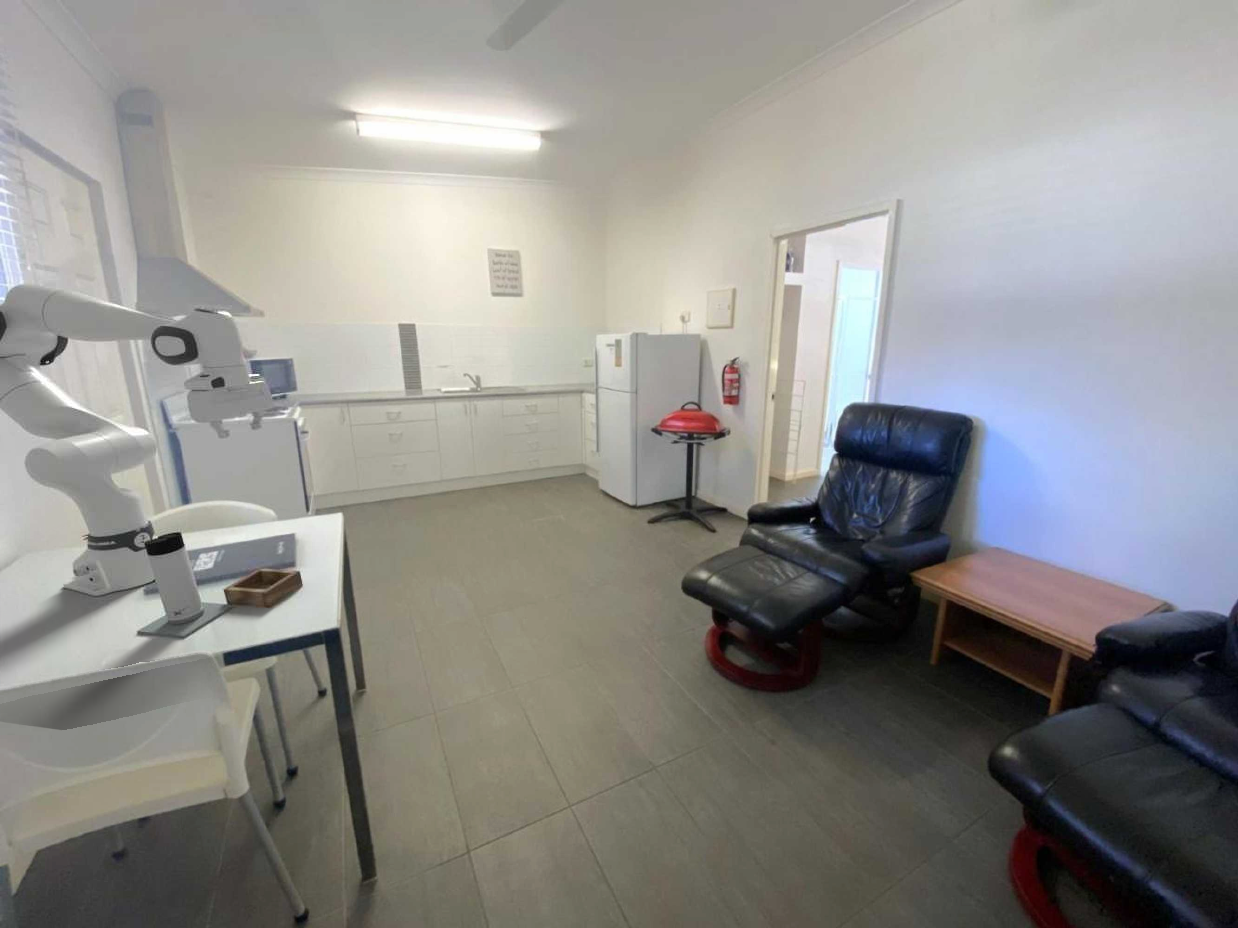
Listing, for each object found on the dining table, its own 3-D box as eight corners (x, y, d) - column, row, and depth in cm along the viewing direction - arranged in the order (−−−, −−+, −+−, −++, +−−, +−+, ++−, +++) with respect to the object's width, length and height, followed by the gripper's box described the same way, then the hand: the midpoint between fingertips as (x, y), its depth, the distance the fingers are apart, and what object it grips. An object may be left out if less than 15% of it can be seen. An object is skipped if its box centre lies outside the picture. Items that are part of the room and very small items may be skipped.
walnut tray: (227, 604, 121) (223, 589, 120) (263, 582, 131) (259, 568, 129) (269, 607, 119) (265, 592, 118) (302, 585, 129) (299, 570, 128)
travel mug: (184, 626, 111) (159, 542, 105) (161, 623, 112) (134, 540, 107) (212, 610, 117) (189, 530, 111) (189, 608, 118) (165, 528, 113)
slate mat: (137, 633, 110) (136, 631, 110) (190, 603, 122) (190, 601, 121) (184, 637, 108) (183, 635, 108) (234, 606, 120) (233, 604, 119)
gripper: (252, 373, 134) (264, 424, 138) (176, 383, 115) (192, 443, 119) (273, 373, 133) (284, 424, 137) (200, 383, 114) (215, 443, 118)
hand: (241, 433), depth 128 cm, fingers open, 8 cm apart
